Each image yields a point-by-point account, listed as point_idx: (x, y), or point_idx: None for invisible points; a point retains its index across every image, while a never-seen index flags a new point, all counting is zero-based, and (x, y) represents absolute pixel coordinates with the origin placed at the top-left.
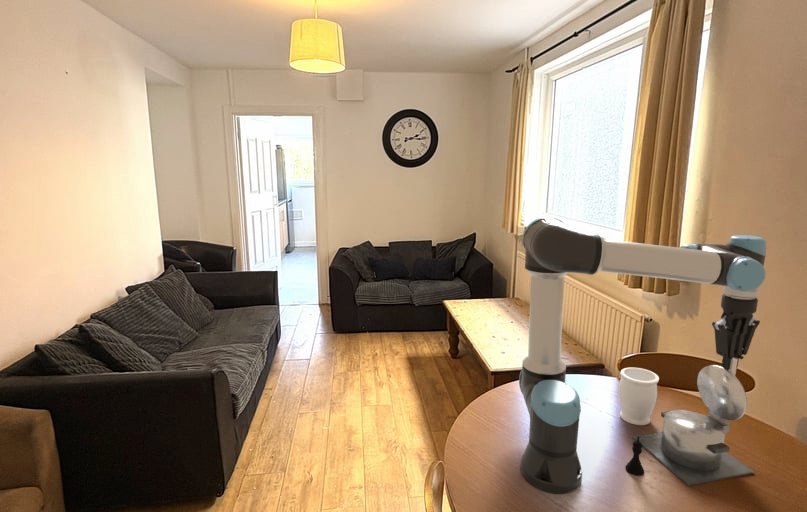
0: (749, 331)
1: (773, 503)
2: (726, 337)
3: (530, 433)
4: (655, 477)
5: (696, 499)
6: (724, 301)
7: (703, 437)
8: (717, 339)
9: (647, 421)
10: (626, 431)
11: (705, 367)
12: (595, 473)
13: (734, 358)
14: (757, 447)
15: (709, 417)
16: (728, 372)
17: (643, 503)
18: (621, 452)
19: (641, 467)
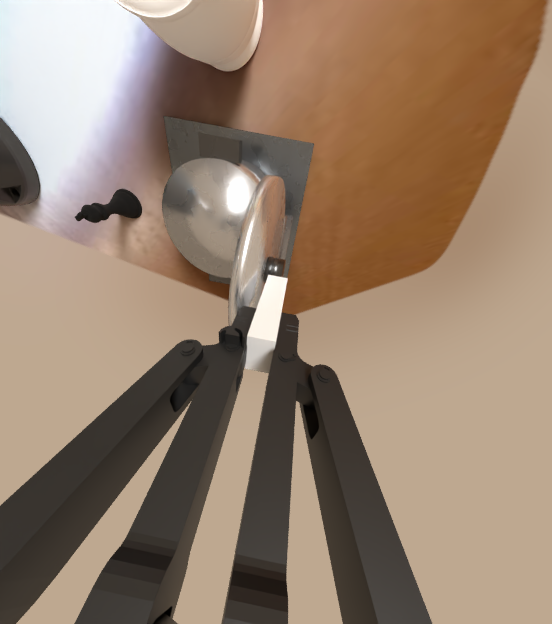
0: (344, 606)
1: None
2: (99, 514)
3: None
4: (153, 228)
5: (181, 275)
6: None
7: (201, 265)
8: (81, 449)
9: (233, 65)
10: (166, 77)
11: (242, 227)
12: (64, 183)
13: (260, 366)
14: (362, 244)
15: None
16: None
17: (116, 255)
18: (124, 151)
19: (128, 215)
